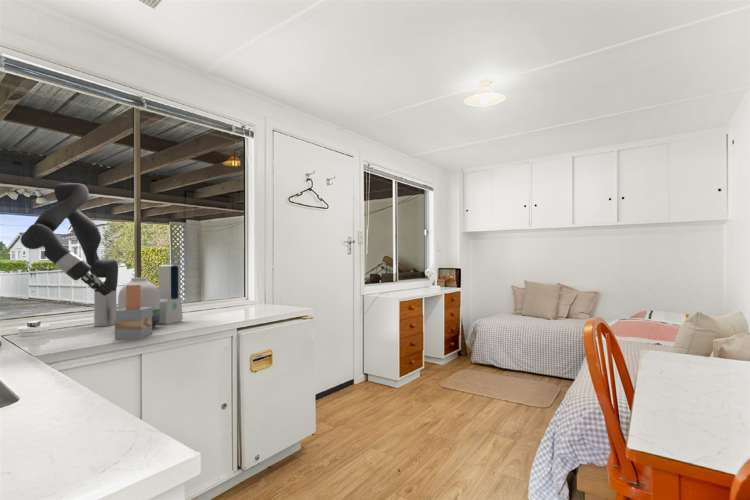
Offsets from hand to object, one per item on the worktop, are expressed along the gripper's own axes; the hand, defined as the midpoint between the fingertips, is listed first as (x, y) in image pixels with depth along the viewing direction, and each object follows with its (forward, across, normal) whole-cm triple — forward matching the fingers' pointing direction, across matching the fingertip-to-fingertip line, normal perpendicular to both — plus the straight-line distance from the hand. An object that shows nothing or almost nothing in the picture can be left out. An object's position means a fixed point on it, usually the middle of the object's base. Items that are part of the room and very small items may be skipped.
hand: (108, 293), depth 159 cm
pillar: (+11, 0, -1) cm, 11 cm away
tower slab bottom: (+20, 0, +7) cm, 21 cm away
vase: (+20, +23, +6) cm, 31 cm away
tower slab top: (+14, 0, +1) cm, 14 cm away
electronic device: (+28, +36, -2) cm, 46 cm away
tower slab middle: (+17, 0, +4) cm, 17 cm away
